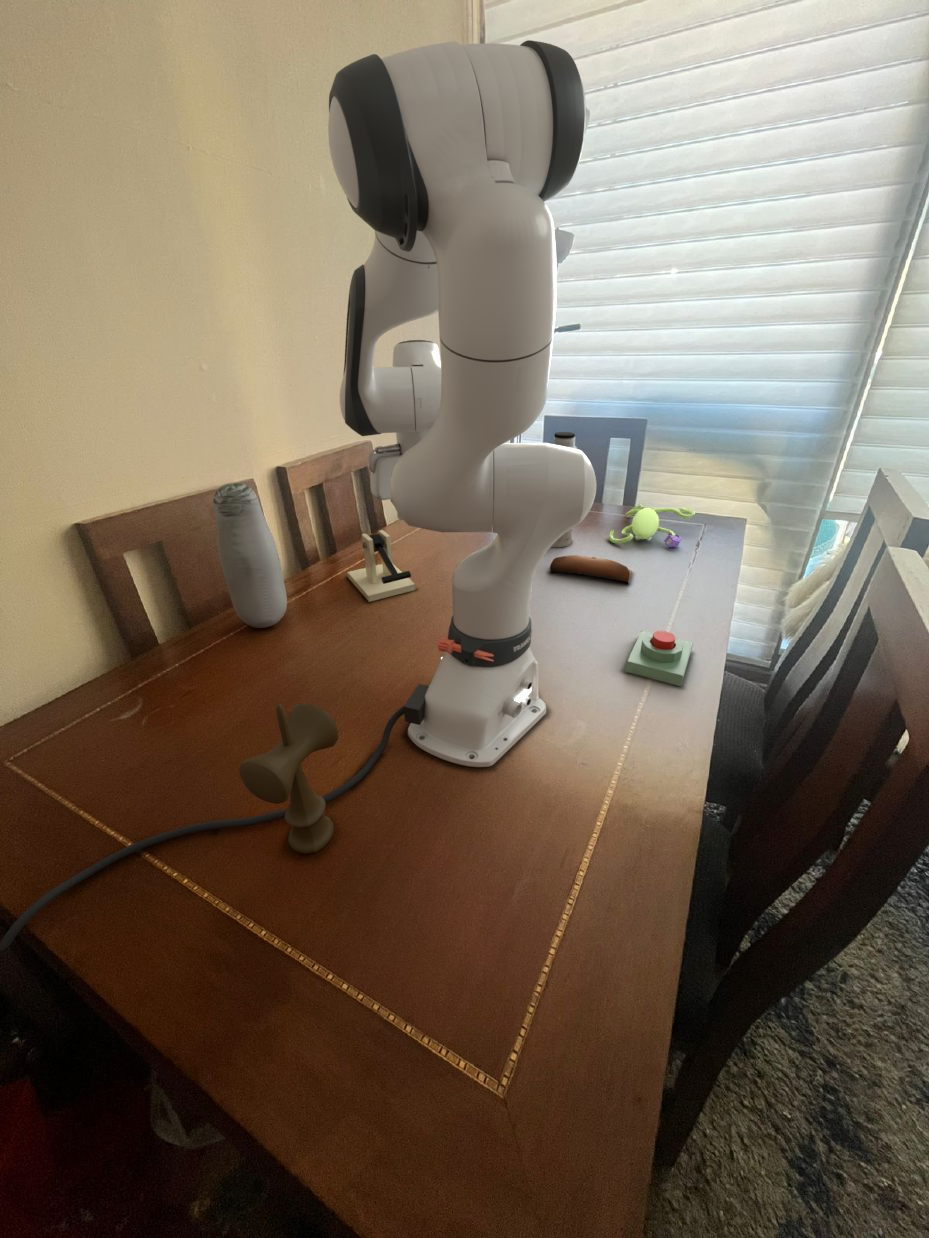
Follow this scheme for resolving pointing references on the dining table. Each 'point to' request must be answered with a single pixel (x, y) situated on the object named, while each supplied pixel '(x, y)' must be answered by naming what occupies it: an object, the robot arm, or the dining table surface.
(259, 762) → the kendama
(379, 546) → the switch lever
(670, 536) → the figurine
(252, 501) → the grey bottle
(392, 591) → the switch bracket
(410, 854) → the dining table surface
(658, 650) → the stop box
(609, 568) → the sunglasses case
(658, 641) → the stop button
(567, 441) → the thermos bottle
